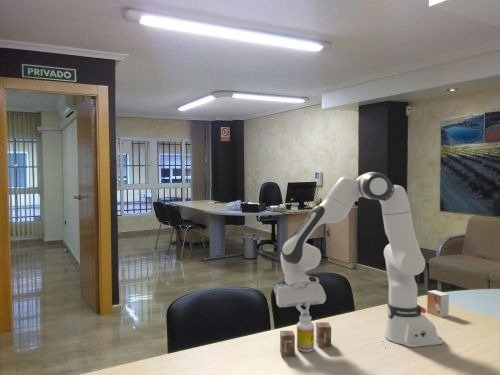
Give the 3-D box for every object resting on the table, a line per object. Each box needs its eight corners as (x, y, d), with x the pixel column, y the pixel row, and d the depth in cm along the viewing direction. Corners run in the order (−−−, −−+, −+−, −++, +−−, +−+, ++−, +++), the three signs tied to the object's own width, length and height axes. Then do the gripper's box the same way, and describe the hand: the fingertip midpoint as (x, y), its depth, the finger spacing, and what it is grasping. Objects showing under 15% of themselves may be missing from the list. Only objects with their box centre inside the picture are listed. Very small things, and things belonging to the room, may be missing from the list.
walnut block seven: (293, 350, 157) (293, 330, 157) (294, 357, 152) (294, 336, 152) (280, 351, 157) (280, 330, 157) (281, 357, 152) (281, 336, 152)
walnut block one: (328, 341, 166) (328, 322, 165) (331, 347, 161) (331, 327, 160) (316, 341, 166) (316, 322, 165) (318, 347, 161) (318, 327, 160)
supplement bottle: (313, 353, 155) (313, 320, 155) (296, 351, 156) (296, 319, 156) (314, 346, 162) (314, 314, 161) (297, 344, 163) (297, 313, 162)
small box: (426, 312, 199) (427, 291, 199) (434, 310, 201) (435, 289, 201) (440, 317, 192) (440, 295, 191) (448, 315, 194) (449, 294, 194)
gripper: (274, 281, 163) (281, 313, 154) (321, 277, 168) (331, 308, 159) (271, 288, 168) (278, 320, 159) (317, 285, 172) (327, 316, 163)
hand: (305, 314), depth 159 cm, fingers closed
